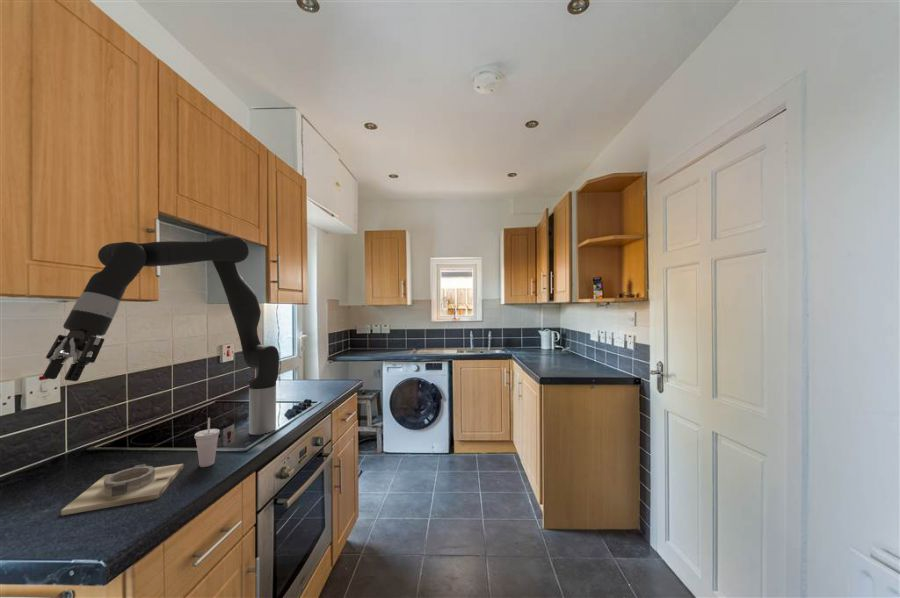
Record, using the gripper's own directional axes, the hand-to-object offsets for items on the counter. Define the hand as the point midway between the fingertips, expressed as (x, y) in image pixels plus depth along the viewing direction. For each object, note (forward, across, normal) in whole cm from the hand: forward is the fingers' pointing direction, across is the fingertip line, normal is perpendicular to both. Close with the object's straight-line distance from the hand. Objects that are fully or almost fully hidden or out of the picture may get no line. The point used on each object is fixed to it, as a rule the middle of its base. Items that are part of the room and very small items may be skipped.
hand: (59, 379), depth 79 cm
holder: (+25, -1, -24) cm, 34 cm away
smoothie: (+19, -7, -39) cm, 44 cm away
